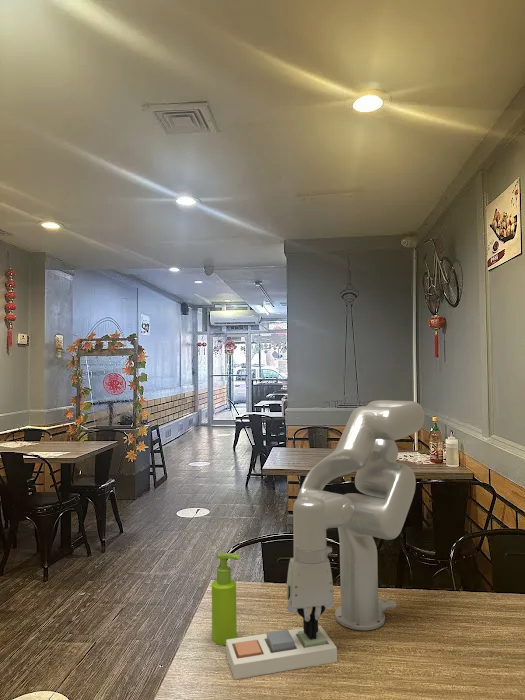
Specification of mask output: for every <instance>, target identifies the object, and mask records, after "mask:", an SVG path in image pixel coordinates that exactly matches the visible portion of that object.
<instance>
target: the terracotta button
mask: <svg viewBox="0 0 525 700" xmlns="http://www.w3.org/2000/svg"><path fill="white" fill-rule="evenodd" d="M234 649H235V654H236V657H237V659H238V658H245V657H251V656H257V655H262V654H261V650H260V647H259V645H258V643H257V641H256V640H251V641H244V642H238V643H234Z"/></svg>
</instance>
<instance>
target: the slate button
mask: <svg viewBox="0 0 525 700" xmlns="http://www.w3.org/2000/svg"><path fill="white" fill-rule="evenodd" d="M288 630H289V629H284V630H276V631H271V632H267V633H266V634H267V643H268V645H269V647H270V650H271V652H272V653H276V652H282V651H288V650H294V640H293V638H292V636H291V635H290V633H289V631H288Z"/></svg>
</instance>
